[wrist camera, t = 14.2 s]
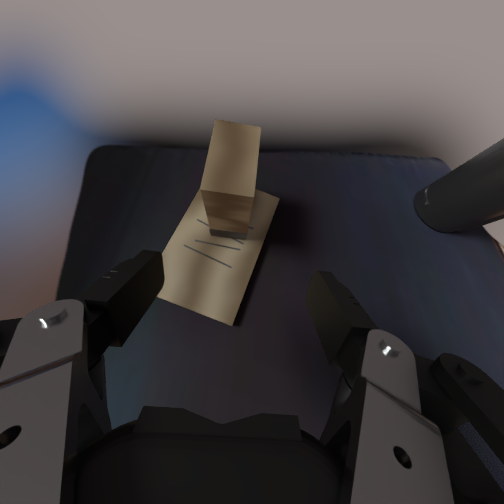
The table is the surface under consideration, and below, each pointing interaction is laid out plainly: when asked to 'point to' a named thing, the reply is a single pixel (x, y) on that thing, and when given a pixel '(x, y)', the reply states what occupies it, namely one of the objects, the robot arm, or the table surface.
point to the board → (213, 260)
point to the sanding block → (230, 178)
